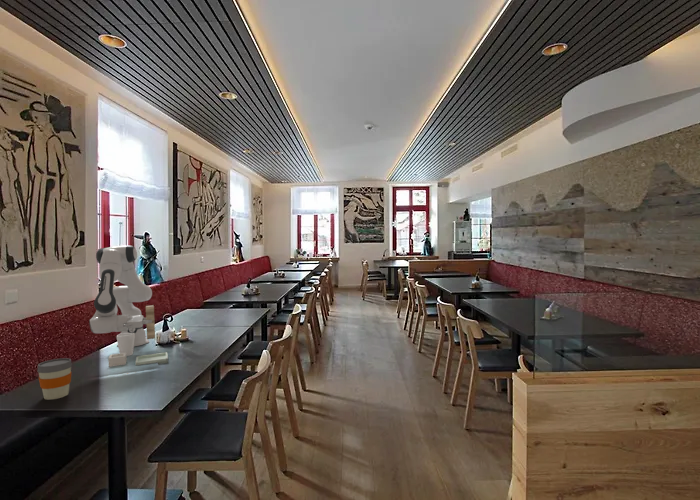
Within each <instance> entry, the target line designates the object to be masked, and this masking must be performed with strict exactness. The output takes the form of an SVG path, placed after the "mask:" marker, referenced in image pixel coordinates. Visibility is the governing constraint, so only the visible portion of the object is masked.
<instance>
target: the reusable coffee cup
mask: <svg viewBox="0 0 700 500" xmlns="http://www.w3.org/2000/svg"><path fill="white" fill-rule="evenodd" d="M72 366H73V364H72V359H71V358H67V357H65V358H62V357H60V358H53V359H49V360H46V361H43V362H42V361H41V362H40V363H38V364H37V371H36V372H37V373H38V382H39V387H40V388H41V391H42V395H43V398H44V400H57V399H60V398H61V399H62V398H64V397H66V396H68V395H69V392H70V384H71V382H72V371H71V370H72Z"/></svg>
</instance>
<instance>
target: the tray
mask: <svg viewBox="0 0 700 500" xmlns="http://www.w3.org/2000/svg"><path fill="white" fill-rule="evenodd" d="M168 354H169V353H168V352H167V351H166V352H159V353H153V354H152V353H151V354H144V355H142V354H141V355H136V358H135V366H143V365H149V364H156V363H157V364H158V365H161V364H163V365H164V364H169V356H168Z"/></svg>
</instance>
